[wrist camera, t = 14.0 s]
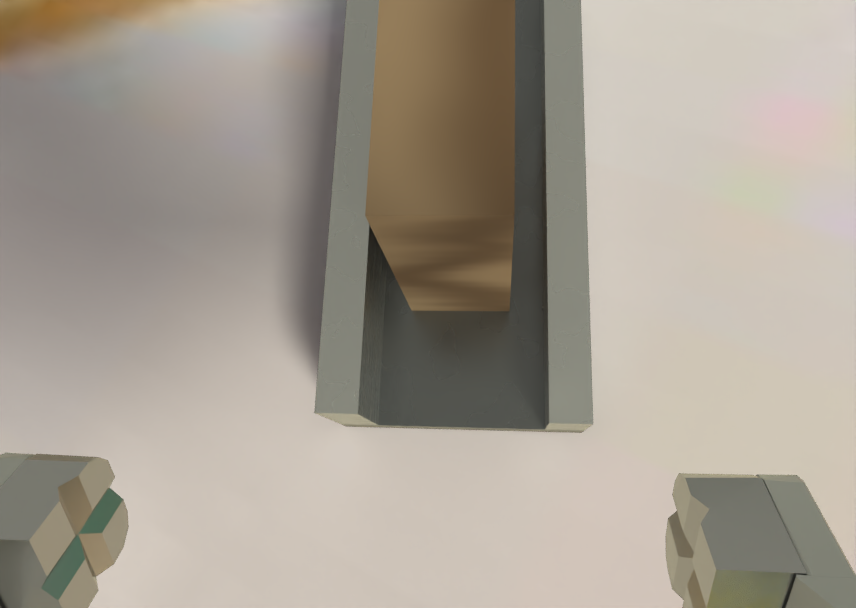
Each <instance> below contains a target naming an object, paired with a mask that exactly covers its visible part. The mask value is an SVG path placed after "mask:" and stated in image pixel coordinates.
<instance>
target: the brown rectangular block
mask: <svg viewBox="0 0 856 608" xmlns="http://www.w3.org/2000/svg"><path fill="white" fill-rule="evenodd" d="M514 215H515V0H379V10H378V26H377V41H376V57H375V72H374V87H373V103H372V118H371V133H370V149H369V164H368V179H367V195H366V210H365V216H366V218H367V220H368V222H369V225H370V227H371V229H372V231H373V233H374V235H375V237H376V239H377V241H378V243H379V245H380V247H381V249H382V251H383V253H384V255H385V257H386V259H387V261H388V263H389V265H390V267H391V269H392V272H393V274H394V276H395V278H396V280H397V282H398V284H399V286H400V288H401V290H402V292H403V294H404V296H405V298H406V300H407V302H408V304H409V306H410V308H411V310H415V311H510V292H511V273H512V254H513V235H514Z"/></svg>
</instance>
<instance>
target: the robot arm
mask: <svg viewBox="0 0 856 608" xmlns="http://www.w3.org/2000/svg"><path fill="white" fill-rule="evenodd" d="M114 478H115V476H114V473H113V471H112V469H111V466H110V464H109V462H108V460H106V459H102V458H99V457H86V456H68V455H49V454H35V455H34V454H18V453H4V454H2V455H0V608H88V607H89V605H90V603H91V602H92V600H93V598H94V597H95V595H96V593H97V592H98V585H97V579H96V576H98V575H99V574H100V573H102V572H103V571H105V570H106V569H108V568H109V567H110V566H112V565H113V564H114V563H115V561H116V560H117V558H118V556H119V554H120V552H121V551H122V549H123V547H124V543H125V539H126V535H127V531H128V527H129V526H128V511H127V509H126V506H125V503H124V500H123V499H122V498H121V497H120V496H119V495H118V494H116V493H115V492H114V491H113V490H112V489H110V488H109V487H110V486H111V484H112V482H113V480H114ZM672 495H673V499H674V502H675V506H676V509H677V511H676V512H675V513H674V514H673V515H671V516H670V517H669V518H668V522H667V529H666V561H667V568H668V574H669V578H670V582H671V586H672V589H673V590H674V591H675V592H676V593H677V594H678V595H679V596H680V597H681V598H682V599H683V600H684V602H683V607H682V608H856V574H855V573H854V571H853V569H852V567H851V565H850V564H849V562H848V560H847V558H846V556H845V555H844V553H843V551H842V549H841V547H840V546H839V544H838V542H837V540H836V538H835V536H834V535H833V533H832V531H831V529H830V527H829V526H828V524H827V522H826V520H825V518H824V517H823V515H822V513H821V511H820V509H819V508H818V506H817V504H816V502H815V500H814V499H813V497H812V495H811V493H810V491H809V490H808V488H807V486H806V484H805V482H804V481H803V480H802V479H801V478H800V477H798V476H797V475H756V476H754V475H736V474H687V473H679V474H678V476H677V478H676V480H675V483H674V489H673V494H672Z"/></svg>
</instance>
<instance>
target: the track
mask: <svg viewBox="0 0 856 608" xmlns="http://www.w3.org/2000/svg"><path fill="white" fill-rule="evenodd" d="M378 10H379V0H347V4H346V17H345V30H344V42H343V55H342V68H341V81H340V93H339V106H338V119H337V132H336V144H335V157H334V170H333V183H332V196H331V208H330V221H329V234H328V247H327V259H326V272H325V285H324V298H323V311H322V323H321V336H320V349H319V362H318V374H317V387H316V400H315V413H316V414H318V415H320V416H323V417H325V418H328V419H330V420H332V421H335V422H337V423H339V424H342V425H344V426H348V427H386V428H424V429H462V430H500V431H538V432H575V433H582V432H583V431H585V430H586V429H587V428H589V427H590V426H591V425H593V403H592V368H591V334H590V299H589V265H588V231H587V196H586V162H585V128H584V93H583V59H582V24H581V0H515V215H514V235H513V254H512V273H511V292H510V311H415V310H411V308H410V306H409V304H408V302H407V300H406V298H405V296H404V294H403V292H402V290H401V288H400V286H399V284H398V282H397V280H396V278H395V276H394V274H393V272H392V269H391V267H390V265H389V263H388V261H387V259H386V257H385V255H384V253H383V251H382V249H381V247H380V245H379V243H378V241H377V239H376V237H375V235H374V233H373V231H372V229H371V227H370V225H369V222H368V220H367V218H366V216H365V210H366V195H367V179H368V164H369V149H370V133H371V118H372V103H373V87H374V72H375V57H376V41H377V26H378Z"/></svg>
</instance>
